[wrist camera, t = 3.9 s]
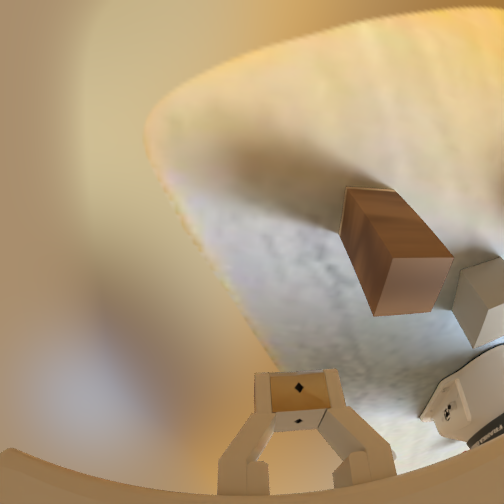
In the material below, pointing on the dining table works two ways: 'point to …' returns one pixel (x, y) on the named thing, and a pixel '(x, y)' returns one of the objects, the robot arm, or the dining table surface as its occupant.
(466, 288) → the grey cube
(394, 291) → the walnut post
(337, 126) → the dining table surface
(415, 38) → the dining table surface
